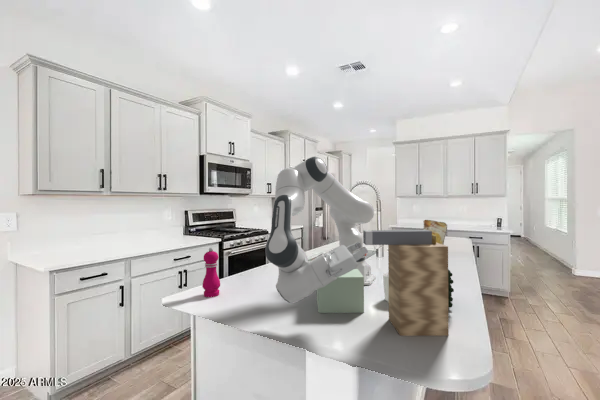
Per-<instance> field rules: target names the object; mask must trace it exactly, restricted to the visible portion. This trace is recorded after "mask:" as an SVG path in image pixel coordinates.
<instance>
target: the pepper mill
mask: <svg viewBox="0 0 600 400" xmlns="http://www.w3.org/2000/svg"><path fill="white" fill-rule="evenodd" d="M203 261H204V262H205V263H204V267H205V275H204V278H203V280H202V285H201V286H202V289H203V290H204V291H203V297H205V298H216V297H218V296H219V295H220V287H221V280H220V278H219V275H218V273H217V267H218V261H219V254H218V252H216V251H214V248H213V247H209V249H208V251H206V252H204V255H203Z"/></svg>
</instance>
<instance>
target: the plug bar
mask: <svg viewBox="0 0 600 400" xmlns="http://www.w3.org/2000/svg"><path fill="white" fill-rule="evenodd" d="M362 236H363V245H365V246H385V245H386V246H388V245H424V244H432V231H429V230H424V229H386V230H385V229H381V230H380V229H379V230H378V229H374V230H373V229H372V230H370V229H363V230H362Z"/></svg>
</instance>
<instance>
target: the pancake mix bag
mask: <svg viewBox="0 0 600 400" xmlns="http://www.w3.org/2000/svg"><path fill="white" fill-rule="evenodd" d="M422 221H423V230H429V231H432V235H434V236H436V242H437V243H439V244H442V245H445V244H444V243H445V240H446V239H445V238H446V235H447V231H448V224H447V223H446V222H445V221H444V222H443V221H436V220H432V219H425V220H422Z"/></svg>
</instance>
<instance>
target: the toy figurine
mask: <svg viewBox="0 0 600 400" xmlns="http://www.w3.org/2000/svg"><path fill="white" fill-rule="evenodd" d="M452 276H453V273H452V272H451V270H450V269H448V308H452V307H453V306H454V305H453V300H454V298H453V297H452V293H453V292H454V291H455V290H454V288H453V287H452V284H454V280H453V279H452Z"/></svg>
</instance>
